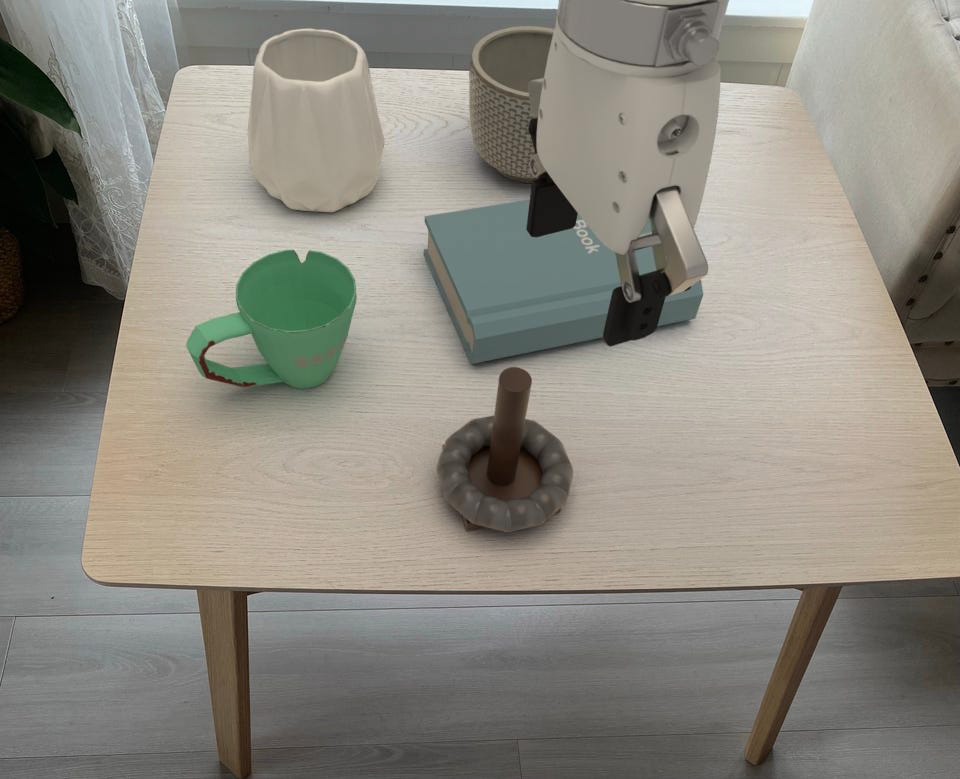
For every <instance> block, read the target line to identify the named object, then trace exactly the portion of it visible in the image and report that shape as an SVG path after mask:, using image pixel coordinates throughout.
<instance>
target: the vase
mask: <svg viewBox="0 0 960 779" xmlns="http://www.w3.org/2000/svg"><path fill="white" fill-rule="evenodd" d="M372 80H373V79H372V76H371V69H370V65H369V61H368V57H367V54H366V53H365V51H364V49H363V48H362V47H361V46H360V45H359V44H358V42H356V41H354V40H352V39H350V38H349V37H348V36H347V35H344V34H342V33H340V32H337V31H334V30H330V29H320V28H319V29H315V28H296V29H291V30H290V29H289V30H286V31H284V32H282V33H281V34H276V35H274V36H272V37H271V36H270V38H267V39H266V40H264V42H263V43H262V44H261V46H260V47H259V49H258V53H257V54H256V57H255V61H254V65H253V72H252V85H251V94H250V95H251V96H250V104H249V112H248V121H247V142H248V143H247V144H248V156H249V157H248V158H249V169H250V172H251V173H252V174H253V176H254V178H256V180H257V181H258V182H259V184H260V185H261V186H262V187H263V188H264V189H266V191H267V193H268V195H270V196H271V197H273V198H274V199H277V200H278V201H282V203H283V204H284V205H285V206H286V207H287V208H289V209H290V210H293V211H301V212H313V213H314V212H316V213H336V212H337V211H340V210H342V209H344V208H345V207H346V208H347V207H348V206H350V205H352V204H355V203H357V201H359V200H361V199H363V198H365V197H367V196H368V195H369V194H371V192H372V191H373V189H374V188H375V186H376V185H377V183H378V180H379V176H380V167H381V160H382V156H383V152H384V147H385V143H386V142H385V136H384V133H383V129H382V124H381V120H380V116H379V111H378V106H377V101H376V96H375V90H374V86H373V85H374V84H373V81H372Z"/></svg>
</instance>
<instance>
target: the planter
mask: <svg viewBox="0 0 960 779" xmlns="http://www.w3.org/2000/svg"><path fill="white" fill-rule="evenodd" d="M554 30H555V28H551V27H545V26H534V25H519V26H511V27H506V28H501V29H498V30H495V31H492V32H491V33H489V34H486V35H485V36H483V37H482V38H481V39H479V40H478V42H477V43H475V44H474V46H473V48H472V50H471V54H470V58H469V62H468V63H469V66H468V67H469V68H468V92H469V93H468V95H469V96H468V100H469V101H468V103H469V104H468V106H469V107H468V108H469V123H470V132H471V137H472V140H473V144H474V147H475V149H476V151H477V153H478V154H479V156H480V157H481V158H482V159H483V160H484V161H485V162H486V163H487V164H488V165H489V166H491V167H492V168H493V169H495V170H496V171H497V172H498V173H499V174H500V175H501V176H503V177H505V178H506V179H508V180H511V181H513V182H518V183H527V184H529V183H531V184H532V181H533V180H537V179H538V177H536V178H535V177H534V176H533V175H532V173H531V170H530V165H529V163H530V158H531V157H532V156H534V155H535V151H534V147H533V142H532V138H531V135H530V134H529V131H528V127H529V122H530V120H531V119H534V117H533V115H531V109H530V100H529V91H528V83H529V81H531V80H536V79H541V78H544V75H545V70H546V64H547V59H548V54H549V50H550V46H551V41H552V37H553V33H554Z"/></svg>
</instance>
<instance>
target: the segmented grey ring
mask: <svg viewBox="0 0 960 779" xmlns="http://www.w3.org/2000/svg"><path fill="white" fill-rule="evenodd" d="M493 421H494V415H488V416H483V417H478V418H473V419H471V420H469V421H468V422H466V423H465V424H464V425H462V426H461V427H460V428H458V429H457V430H456V431H455V432H453V433H452V434H451V435H449V436H448V437H447V438H446V440H445V442H444V444H443V445H444V447H443V450H442V449H441V453H440V456H439V459H438V462H437V465H436V473H437V478H438V481H439V483H440V488H441V490H442V493H443V497H444V499H445V501H446V502H447V503H448V504H449V505H450V506H451V507H452V508H453V509H455V510H456V512H458V513H459V514H460V515H461V514H462V515H463V516H464V517H465V518H466V519H467V520H468V521H470V522H471V523H473V524H476V525H480V526H484V527H486V528H488V529H493V530H496V531H500V532H502V533H503V532H504V533H509V532H515V531H520V530H524V529H529V528H534V527H535V528H536V527H538V526H541V525H543V524H544V523H545V522H547V521H548V519H550V518H551V517H552V516H553V515H555V514H556V513H555V512H557V511H558V510H559V509H560V508H561V509H562V507H564V506H565V504H566V503H567V501H568V498H569V494H570V489H571V487H572V486H571V485H572V480H573V477H574V469H573V466H572V462H571V460H570V458H569V456H568V454H567V450H566V449H565V446H564V444H563V442H562V441H561V440H560V439H559V438H558V437H557V436H555V435H554V434H553V433H552V432H550V431H549V430H548V429H547V428H545V427H544V426H543V425H541V424H540V423H539V422H538V421H535V420H532V419H529V418H526V419H525V425H524V431H523V436H522V442H521V447H522V448H524V449H525V450H527V451H528V452H529V453H530V454H532V455H533V456H534V457H535V458H537V459H538V462H539V464H540V467H541V469H542V472H543V475H542V478H541V482H540V486H539V487H538V488H537V489H535V490H534V491H533V492H532V493H531V494H530V495H528V496H527V497H522V498H518V499H513V500H508V501H507V500H503V499H499V498H495V497H491V496H487V495H485V494H484V493H483V492H482V491H481V490H479V489H478V488H477V487H476V486H475V485H474V484H472V482H471V479H470V476H469V473H468V470H467V468H468V465H469V462H470V459H471V456H472V455H474V454H475V453H476V452H478V451H479V450H480V449H481V448H483V447H484V446H489V445H490V444H491V436H492V429H493Z"/></svg>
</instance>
